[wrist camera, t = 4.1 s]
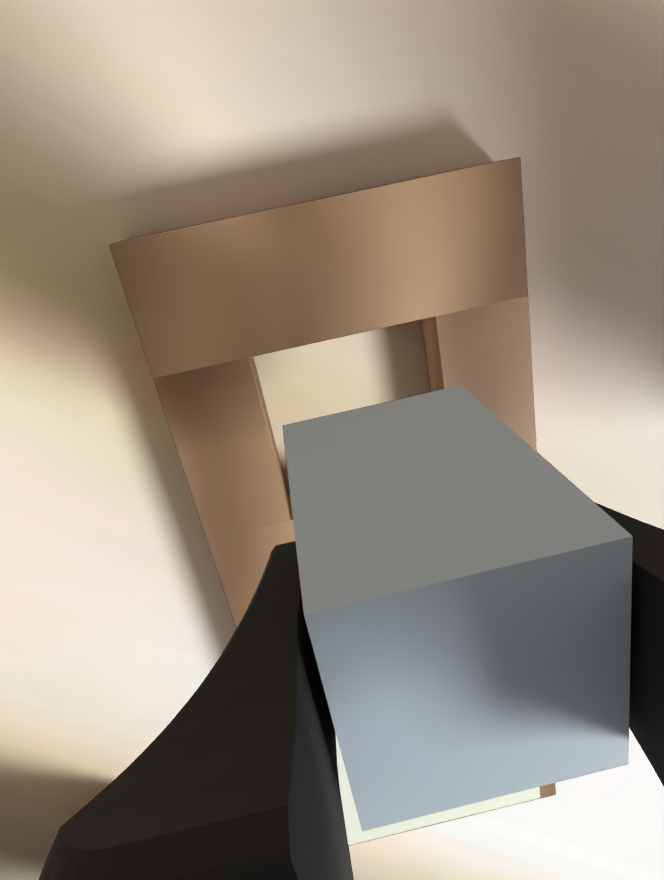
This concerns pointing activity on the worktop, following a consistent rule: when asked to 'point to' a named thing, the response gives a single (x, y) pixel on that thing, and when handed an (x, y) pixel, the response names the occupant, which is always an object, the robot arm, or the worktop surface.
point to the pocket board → (324, 327)
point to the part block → (457, 606)
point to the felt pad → (358, 836)
